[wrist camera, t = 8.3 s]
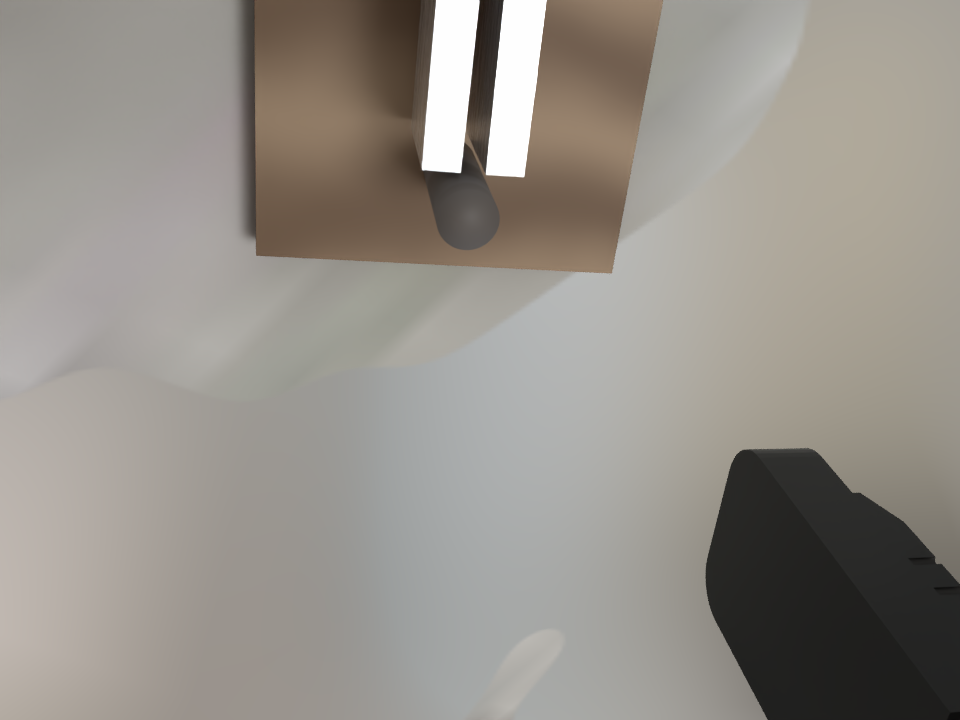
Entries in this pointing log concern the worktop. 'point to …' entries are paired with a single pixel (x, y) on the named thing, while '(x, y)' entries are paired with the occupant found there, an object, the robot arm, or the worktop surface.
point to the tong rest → (470, 194)
